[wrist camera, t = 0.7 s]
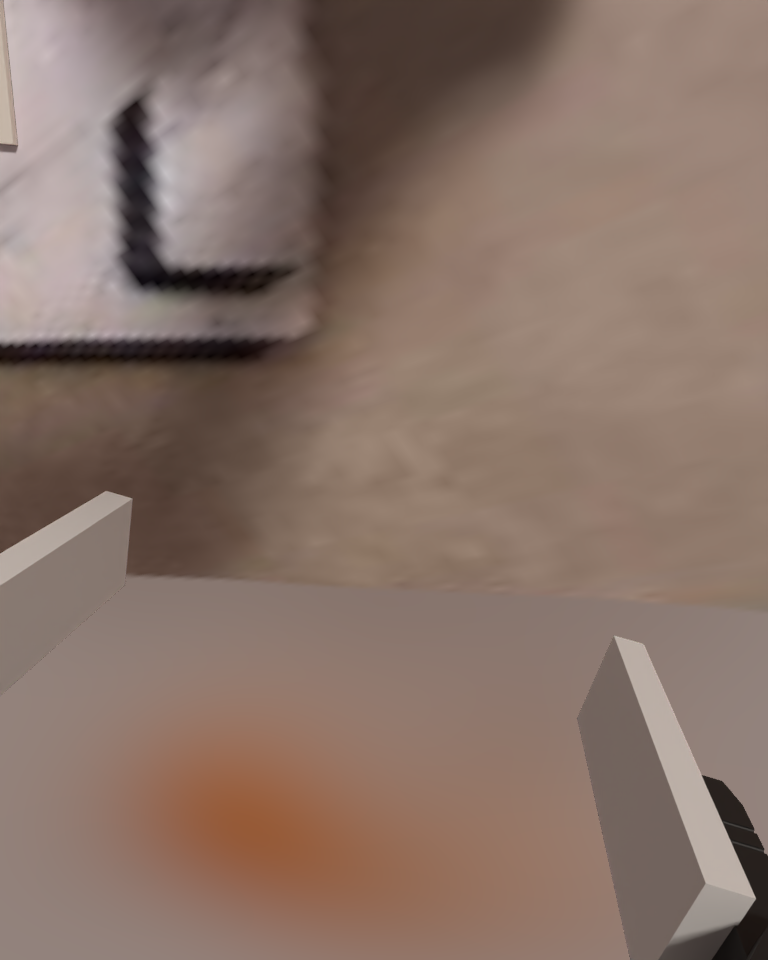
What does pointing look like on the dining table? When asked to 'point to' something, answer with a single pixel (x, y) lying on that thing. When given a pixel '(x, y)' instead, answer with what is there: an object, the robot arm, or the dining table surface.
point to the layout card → (6, 89)
